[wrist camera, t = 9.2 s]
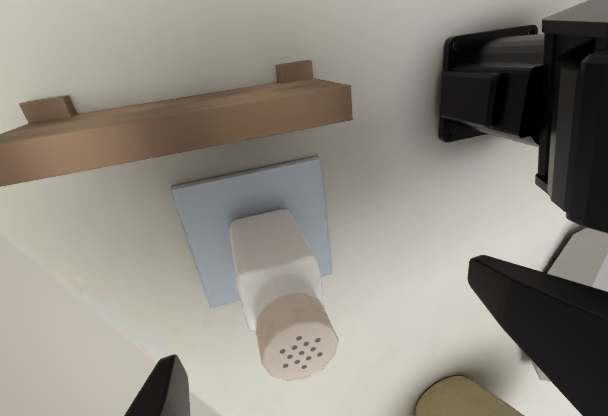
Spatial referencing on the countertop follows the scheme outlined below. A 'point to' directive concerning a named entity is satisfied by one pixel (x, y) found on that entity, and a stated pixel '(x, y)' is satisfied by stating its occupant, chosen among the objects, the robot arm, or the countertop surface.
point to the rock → (582, 264)
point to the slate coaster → (243, 203)
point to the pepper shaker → (282, 294)
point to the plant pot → (461, 400)
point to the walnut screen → (166, 125)
